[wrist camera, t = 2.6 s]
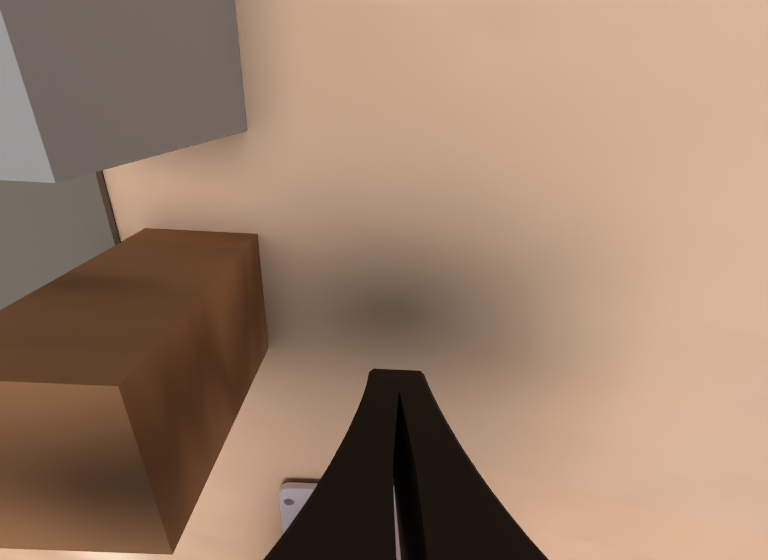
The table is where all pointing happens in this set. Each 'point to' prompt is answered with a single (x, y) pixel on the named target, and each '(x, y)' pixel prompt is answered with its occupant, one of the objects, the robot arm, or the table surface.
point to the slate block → (113, 82)
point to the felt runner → (50, 231)
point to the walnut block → (125, 390)
